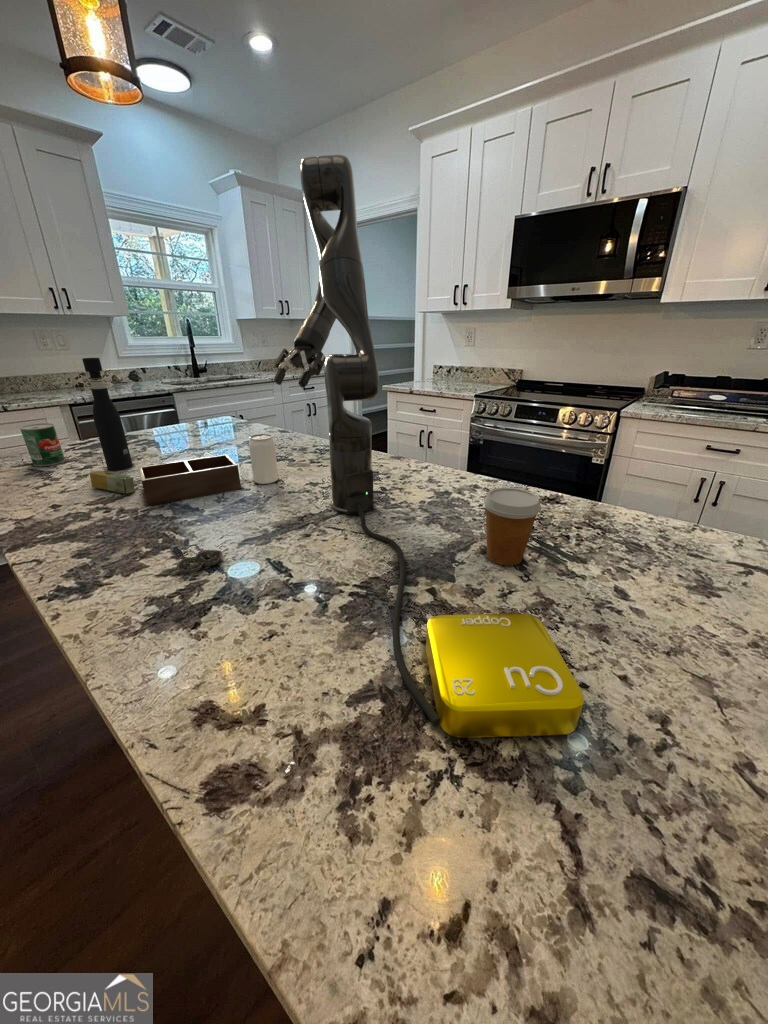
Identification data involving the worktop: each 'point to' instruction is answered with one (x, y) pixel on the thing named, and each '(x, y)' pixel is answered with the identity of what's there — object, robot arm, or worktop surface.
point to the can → (263, 459)
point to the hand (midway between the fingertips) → (288, 384)
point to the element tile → (499, 677)
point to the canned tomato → (43, 444)
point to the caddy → (189, 478)
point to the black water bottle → (107, 420)
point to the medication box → (112, 482)
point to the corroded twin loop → (199, 561)
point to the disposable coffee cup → (509, 523)
